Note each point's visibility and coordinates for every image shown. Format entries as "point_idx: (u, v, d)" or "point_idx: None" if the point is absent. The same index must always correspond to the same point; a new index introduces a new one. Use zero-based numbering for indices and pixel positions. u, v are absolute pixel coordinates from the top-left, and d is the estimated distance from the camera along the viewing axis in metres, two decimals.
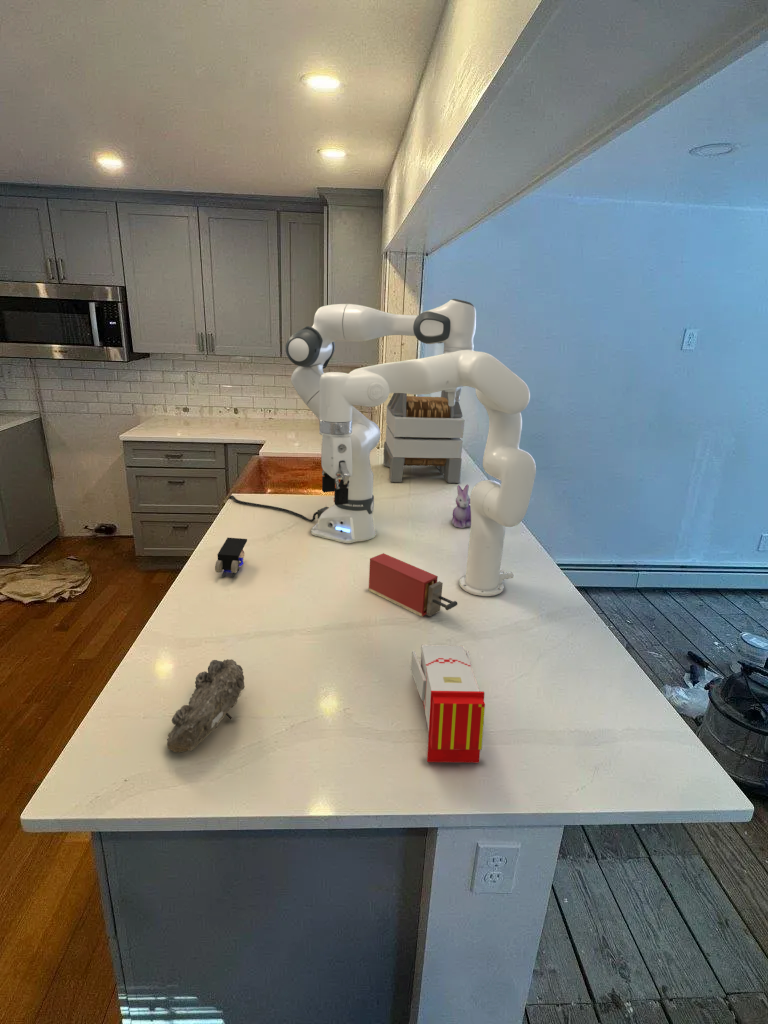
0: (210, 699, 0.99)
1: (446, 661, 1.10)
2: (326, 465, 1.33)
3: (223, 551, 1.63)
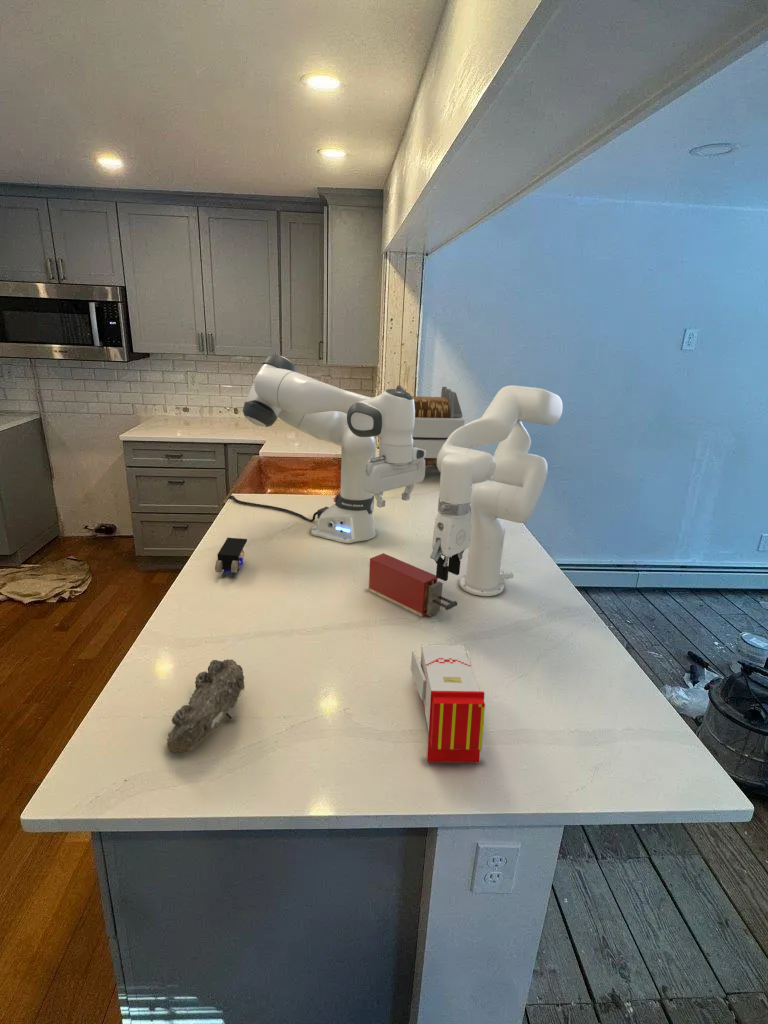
0: (210, 699, 0.99)
1: (446, 661, 1.10)
2: None
3: (223, 551, 1.63)
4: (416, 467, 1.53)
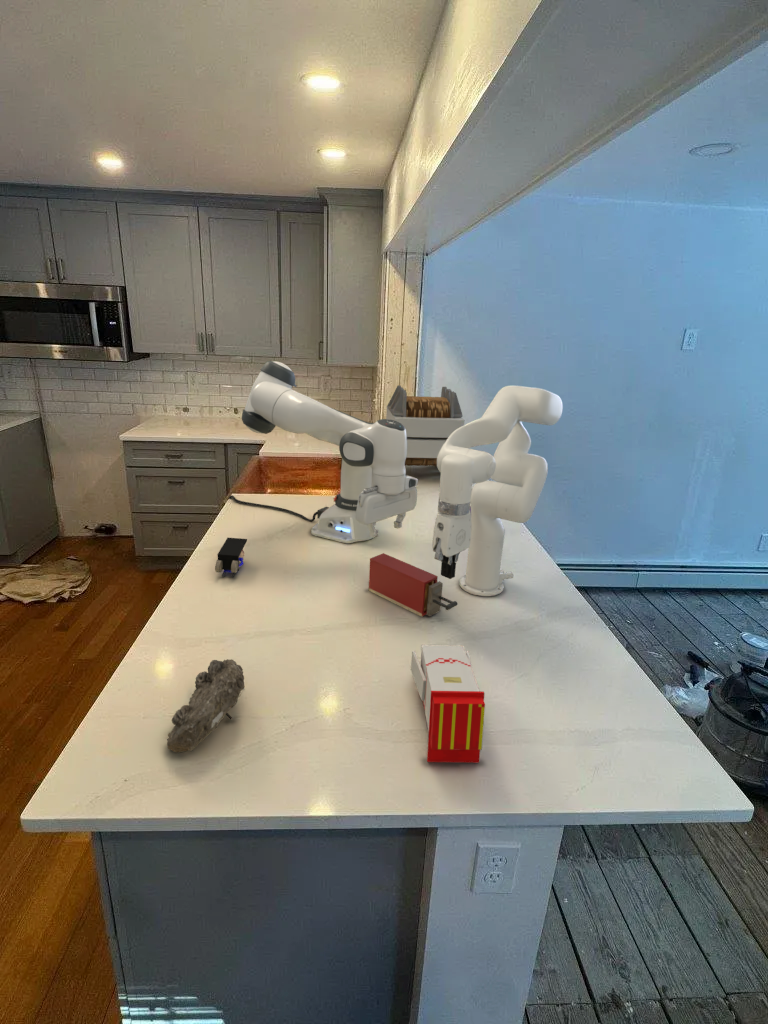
0: (210, 699, 0.99)
1: (446, 661, 1.10)
2: None
3: (223, 551, 1.63)
4: (408, 495, 1.53)
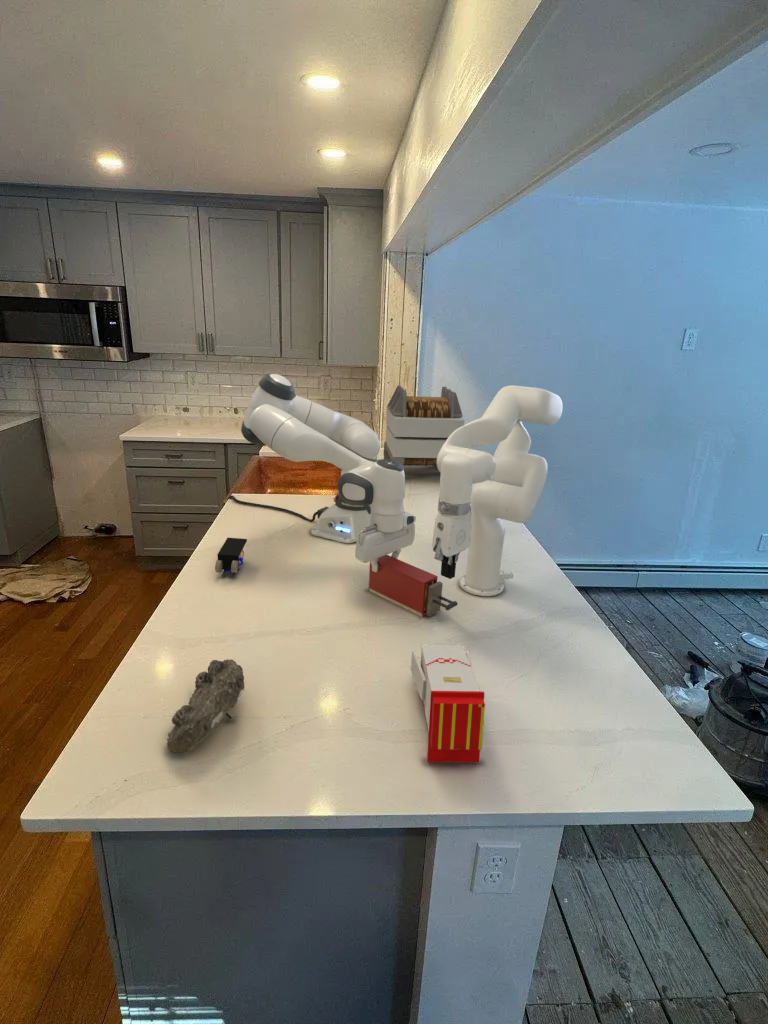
0: (210, 699, 0.99)
1: (446, 661, 1.10)
2: None
3: (223, 551, 1.63)
4: (406, 531, 1.57)
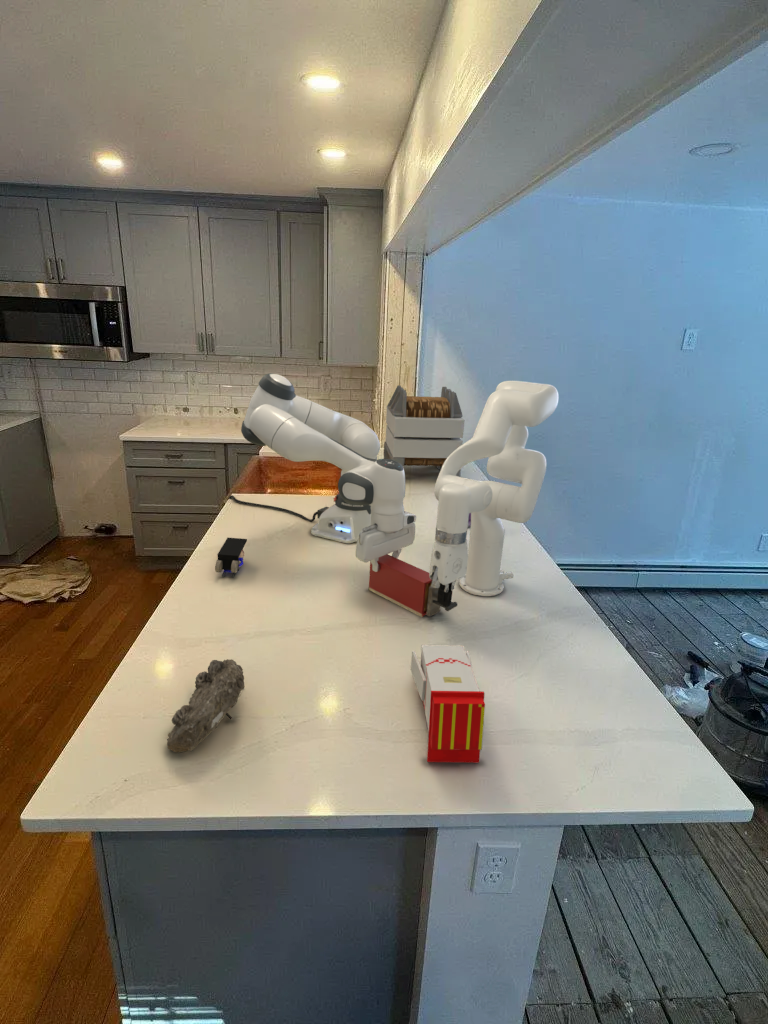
0: (210, 699, 0.99)
1: (446, 661, 1.10)
2: None
3: (223, 551, 1.63)
4: (406, 531, 1.57)
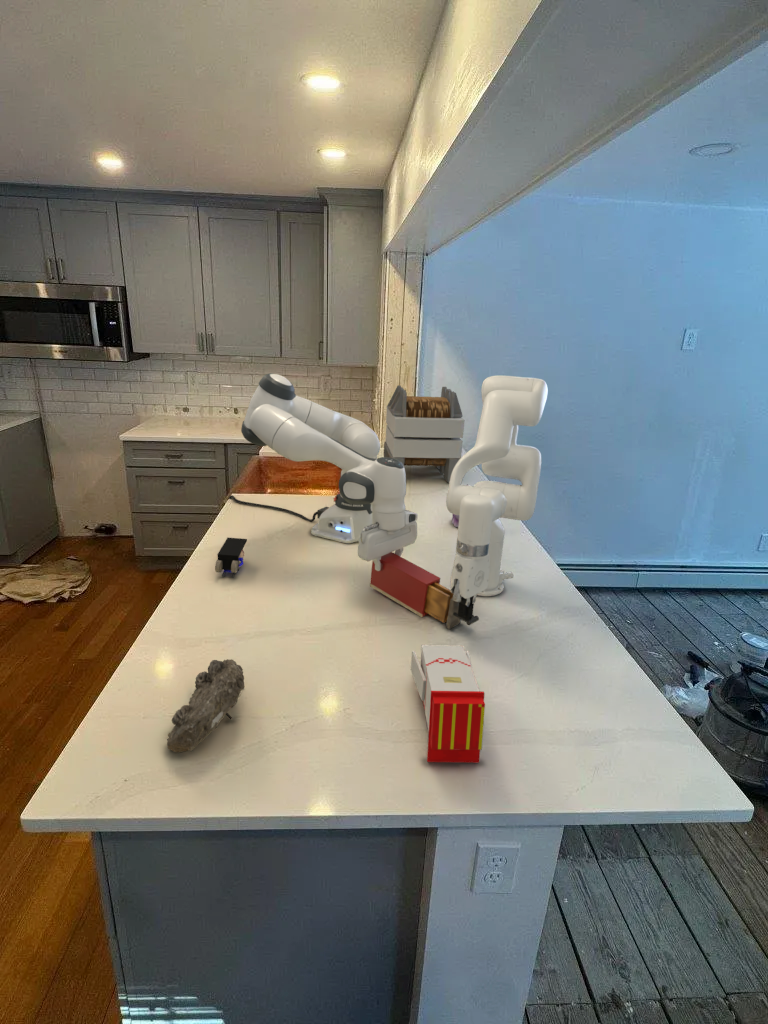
0: (210, 699, 0.99)
1: (446, 661, 1.10)
2: None
3: (223, 551, 1.63)
4: (408, 530, 1.56)
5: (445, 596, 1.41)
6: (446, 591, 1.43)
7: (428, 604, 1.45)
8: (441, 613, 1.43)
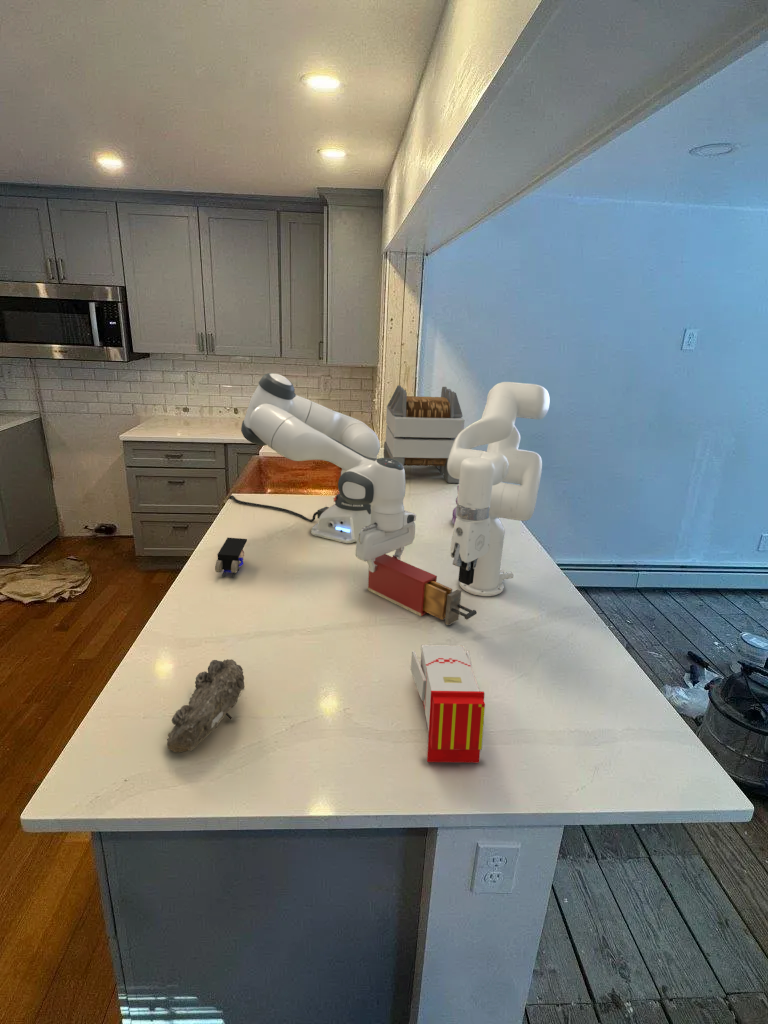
0: (210, 699, 0.99)
1: (446, 661, 1.10)
2: None
3: (223, 551, 1.63)
4: (406, 530, 1.57)
5: (441, 592, 1.42)
6: (443, 588, 1.44)
7: (426, 602, 1.46)
8: (439, 610, 1.43)
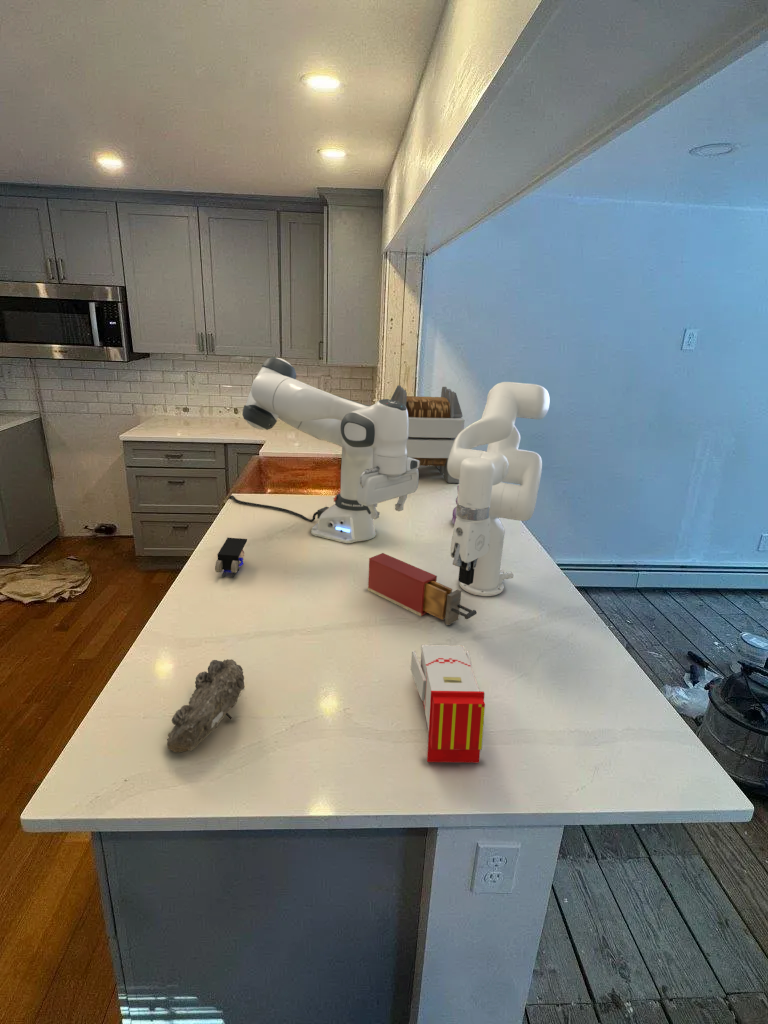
0: (210, 699, 0.99)
1: (446, 661, 1.10)
2: None
3: (223, 551, 1.63)
4: (409, 477, 1.52)
5: (441, 592, 1.42)
6: (443, 588, 1.44)
7: (426, 602, 1.46)
8: (439, 610, 1.43)
